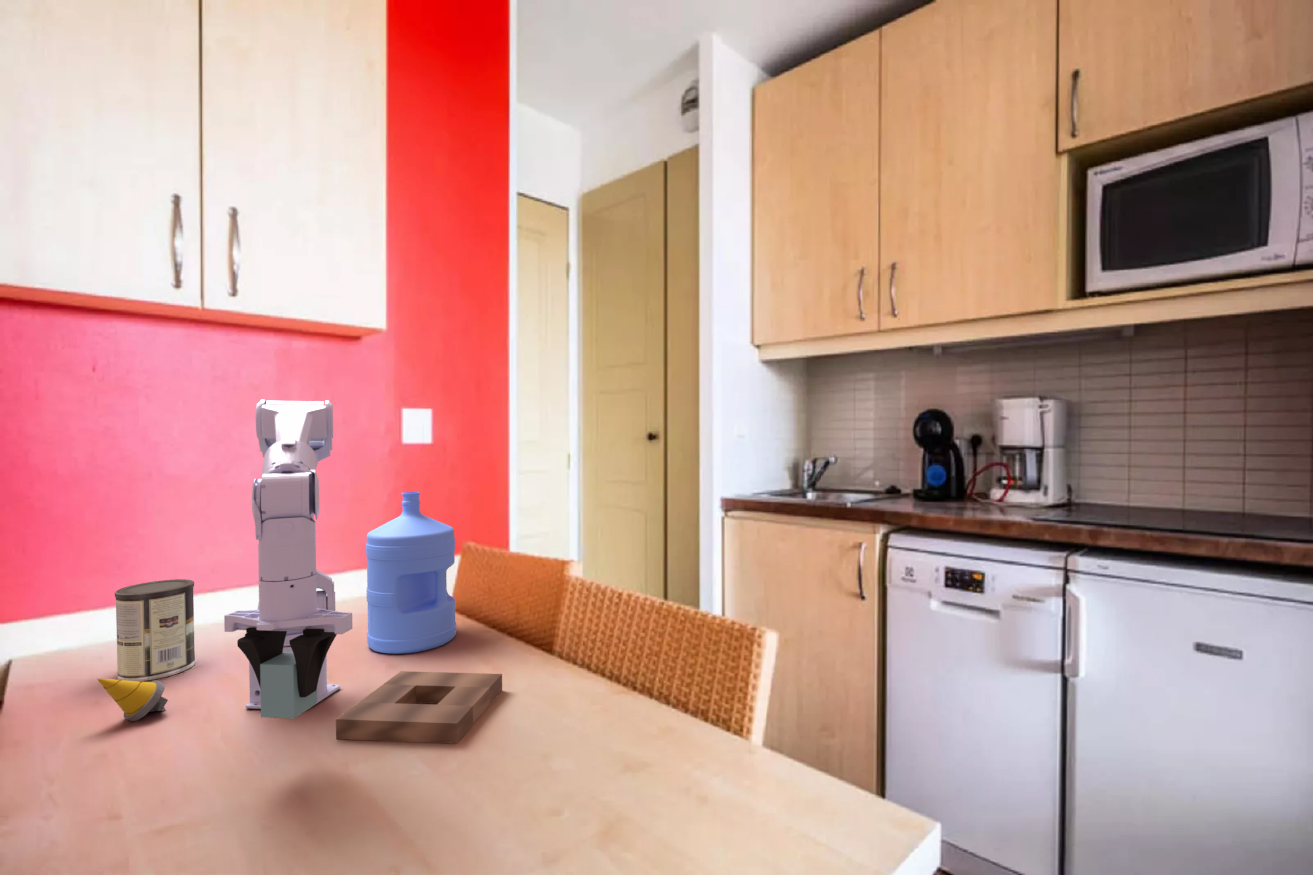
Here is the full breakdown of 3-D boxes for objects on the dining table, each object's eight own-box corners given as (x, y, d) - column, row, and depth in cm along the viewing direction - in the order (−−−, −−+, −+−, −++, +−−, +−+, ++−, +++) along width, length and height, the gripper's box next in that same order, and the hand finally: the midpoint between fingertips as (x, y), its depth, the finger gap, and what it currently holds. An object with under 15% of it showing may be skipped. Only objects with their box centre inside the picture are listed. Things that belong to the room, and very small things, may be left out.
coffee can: (156, 658, 108) (155, 578, 108) (210, 659, 107) (209, 579, 107) (97, 681, 98) (96, 593, 98) (156, 683, 97) (155, 594, 97)
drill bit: (170, 722, 84) (99, 690, 79) (142, 735, 85) (70, 704, 80) (189, 686, 89) (123, 653, 83) (162, 699, 90) (95, 668, 84)
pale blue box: (260, 717, 69) (260, 664, 69) (285, 702, 73) (285, 652, 73) (294, 718, 69) (293, 665, 69) (317, 703, 73) (316, 652, 73)
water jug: (347, 651, 110) (345, 496, 110) (406, 625, 125) (404, 488, 125) (420, 659, 106) (418, 497, 106) (472, 631, 121) (470, 489, 121)
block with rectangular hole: (336, 738, 78) (335, 719, 78) (400, 687, 94) (400, 671, 94) (457, 743, 76) (456, 723, 76) (502, 690, 92) (502, 673, 92)
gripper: (201, 583, 68) (203, 706, 68) (324, 585, 66) (326, 710, 66) (249, 569, 75) (251, 680, 75) (362, 570, 73) (363, 684, 73)
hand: (289, 693), depth 71 cm, fingers closed on pale blue box, 4 cm apart
